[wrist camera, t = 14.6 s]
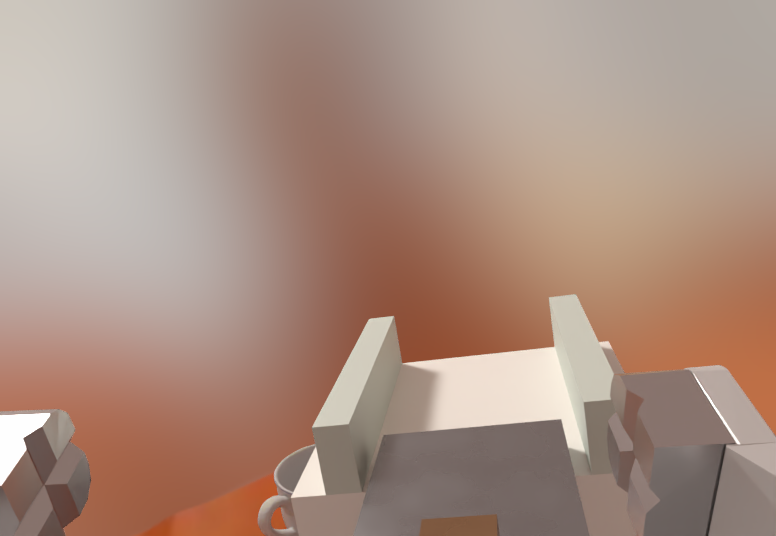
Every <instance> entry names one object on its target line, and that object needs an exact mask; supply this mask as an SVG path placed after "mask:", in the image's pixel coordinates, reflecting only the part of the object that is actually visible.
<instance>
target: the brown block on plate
mask: <svg viewBox="0 0 776 536" xmlns="http://www.w3.org/2000/svg"><path fill="white" fill-rule="evenodd" d="M353 536H590V535H589V531H588V527H587V523H586V519H585V515H584V511H583V507H582V502H581V498H580V494H579V490H578V486H577V482H576V478H575V474H574V470H573V466H572V461H571V457H570V453H569V449H568V445H567V441H566V437H565V433H564V429H563V425H562V420H561V419H557V420H545V421H534V422H523V423H512V424H501V425H490V426H479V427H468V428H457V429H445V430H434V431H423V432H412V433H401V434H390V435H383V438H382V441H381V445H380V448H379V451H378V455H377V458H376V461H375V465H374V468H373V471H372V475H371V478H370V481H369V484H368V488H367V491H366V494H365V498H364V501H363V504H362V508H361V511H360V514H359V518H358V521H357V524H356V528H355V531H354V534H353Z"/></svg>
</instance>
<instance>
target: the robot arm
mask: <svg viewBox="0 0 776 536" xmlns="http://www.w3.org/2000/svg"><path fill="white" fill-rule="evenodd" d="M610 398H611V401H612V403H613V405H614V408H615V410H616V412H615V413H614V414H613V416H612V417H611V418H610V419H609V420H608V427H607V445H608V455H609V460H610V464H611V468H612V472H613V475H614V478H615V480H616V483H617V485H618V486H619V487H620V488H622V489H623V490H624V491H626V492H627V493H628V500H627V512H628V515H629V517H630V520H631V522H632V525H633V528H634V530H635V533H636V535H637V536H776V436H775V434H774V433H773V432H772V430H771V429H770V428H769V426H768V425H767V424H766V422H765V421H764V419H763V418H762V416H761V415H760V414H759V412H758V411H757V410H756V408H755V407H754V406H753V404H752V403H751V402H750V400H749V399H748V397H747V396H746V395H745V393H744V392H743V391H742V389H741V388H740V386H739V385H738V383H737V382H736V381H735V379H734V378H733V376H732V375H731V374H730V372H729V371H728V370H727V369H726V368H725V367H723V366H721V365H716V366H706V367H694V368H685V369H684V370H669V371H653V372H639V373H624V374H614V376H613V379H612V382H611V390H610ZM74 432H75V428H74V426H73V423H72V421H71V419H70V417H69V415H68V413H67V412H64V411H62V410H59V409H51V410H28V411H4V412H3V411H2V412H0V536H66V535H65V532H64V529H63V528H64V527H65V526H67V525H68V524H69V523H71V522H72V521H73V520H74V519H75V518H77V517H78V516H80V514H81V512H82V509H83V508H84V506H85V504H86V501H87V499H88V493H89V488H90V482H91V477H90V469H89V464H88V461H87V458H86V455H85V453H84V452H83V451H82V450H81V449H79V448H78V447H77V446H75V445H74V444H73V443H71V442H70V440H71V438H72V436H73V434H74Z"/></svg>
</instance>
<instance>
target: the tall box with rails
mask: <svg viewBox="0 0 776 536" xmlns="http://www.w3.org/2000/svg"><path fill="white" fill-rule="evenodd" d="M549 303H550V310H551V320H552V328H553V336H554V345H555V347H551V348H542V349H532V350H523V351H513V352H505V353H495V354H486V355H476V356H467V357H458V358H448V359H440V360H430V361H421V362H411V363H402V361H401V354H400V348H399V343H398V337H397V331H396V325H395V319H394V316H390V317H382V318H374V319H369V321H368V323H367V324H366V326H365V328H364V330H363V332H362V334H361V336H360V338H359V339H358V341H357V343H356V345H355V347H354V349H353V351H352V353H351V355H350V357H349V358H348V360H347V362H346V364H345V366H344V368H343V370H342V372H341V374H340V376H339V377H338V379H337V381H336V383H335V385H334V387H333V389H332V391H331V393H330V394H329V396H328V398H327V400H326V402H325V404H324V406H323V408H322V410H321V412H320V413H319V415H318V417H317V419H316V421H315V423H314V425H313V427H312V430H313V435H314V439H315V445H316V447H315V449H314V451H313V453H312V455H311V457H310V459H309V461H308V463H307V465H306V467H305V469H304V471H303V473H302V476H301V478H300V480H299V482H298V484H297V486H296V488H295V490H294V492H293V494H292V496H291V502H292V507H293V511H294V516H295V520H296V525H297V530H298V534H299V536H353V534H354V531H355V528H356V524H357V521H358V518H359V514H360V511H361V508H362V504H363V501H364V498H365V494H366V491H367V488H368V484H369V481H370V478H371V475H372V471H373V468H374V465H375V461H376V458H377V455H378V451H379V448H380V445H381V441H382V438H383V435H390V434H401V433H412V432H423V431H434V430H445V429H457V428H468V427H479V426H490V425H501V424H512V423H523V422H534V421H545V420H557V419H561V420H562V425H563V429H564V433H565V437H566V441H567V445H568V449H569V453H570V457H571V461H572V466H573V470H574V474H575V478H576V482H577V486H578V490H579V494H580V498H581V502H582V507H583V511H584V515H585V519H586V523H587V527H588V531H589V535H590V536H637V535H636V533H635V530H634V528H633V525H632V522H631V520H630V517H629V515H628V512H627V500H628V493H627V492H626V491H624V490H623V489H622V488H620V487H619V486H618V485H617V483H616V480H615V478H614V475H613V472H612V468H611V464H610V460H609V455H608V445H607V427H608V420H609V419H610V418H611V417H612V416H613V414H614V413H615V412H616V410H615V408H614V405H613V403H612V401H611V398H610V390H611V382H612V379H613V376H614V374H624V373H625V372H624V371H623V369H622V367H621V365H620V363H619V361H618V359H617V357H616V355H615V353H614V351H613V350H612V347H611V346H610V344H609V342H608V341H606V342H598V340H597V338H596V335H595V333H594V331H593V329H592V327H591V325H590V323H589V321H588V319H587V317H586V315H585V312H584V310H583V308H582V306H581V304H580V302H579V300H578V298H577V296H576V294H574V295H566V296H558V297H549Z"/></svg>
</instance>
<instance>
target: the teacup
mask: <svg viewBox="0 0 776 536" xmlns="http://www.w3.org/2000/svg"><path fill="white" fill-rule="evenodd" d="M315 447H316V445H315V444H314V445H310V446H307V447H304V448H302V449H300V450H297V451H295V452H294V453H292V454H290V455H289V456H287V457H286V458H285V459H283V460H282V461H281V462H280V463H279V465H278V466H277V468H276V470H275V473H274V481H275V483H276V485H277V490H278V495H277V496H273V497H271V498H269V499H267V500H266V501H265V502H264V503H263V505H262V506H261V508H260V511H259V514H258V525H259V528H260V530H261V531H262V533H263V534H264V535H266V536H299V534H298V530H297V525H296V520H295V516H294V511H293V507H292V502H291V496H292V494H293V492H294V490H295V488H296V486H297V484H298V482H299V480H300V478H301V476H302V473H303V471H304V469H305V467H306V465H307V463H308V461H309V459H310V457H311V455H312V453H313V451H314V449H315ZM279 507H281V512H282V516H283V519H284V522H285V525H286V527H287V529H283V530H277V529H274V528H272V526H271V517H272V514H273V512H274V511H275V510H276V509H277V508H279Z"/></svg>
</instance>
